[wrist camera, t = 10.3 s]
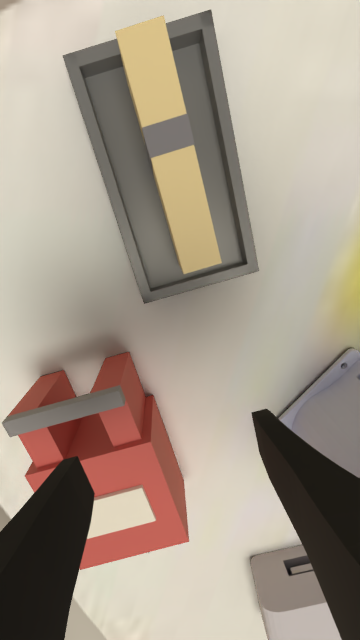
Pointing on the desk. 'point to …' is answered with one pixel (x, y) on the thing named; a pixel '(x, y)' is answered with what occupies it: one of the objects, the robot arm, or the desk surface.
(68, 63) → the ticket tray
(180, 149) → the wooden blocks
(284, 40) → the desk surface
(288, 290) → the desk surface
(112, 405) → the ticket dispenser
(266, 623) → the charger
